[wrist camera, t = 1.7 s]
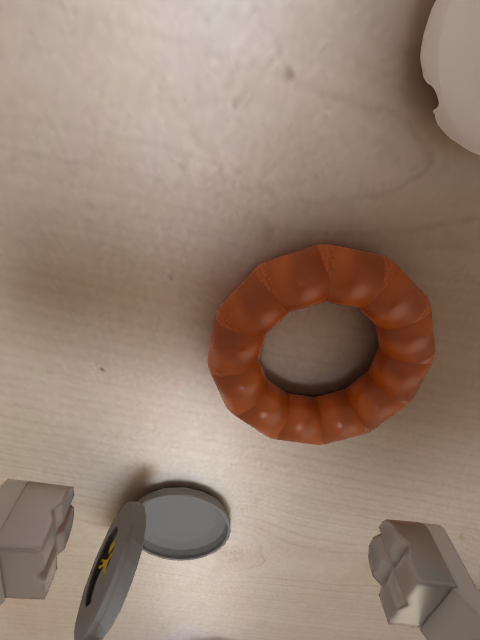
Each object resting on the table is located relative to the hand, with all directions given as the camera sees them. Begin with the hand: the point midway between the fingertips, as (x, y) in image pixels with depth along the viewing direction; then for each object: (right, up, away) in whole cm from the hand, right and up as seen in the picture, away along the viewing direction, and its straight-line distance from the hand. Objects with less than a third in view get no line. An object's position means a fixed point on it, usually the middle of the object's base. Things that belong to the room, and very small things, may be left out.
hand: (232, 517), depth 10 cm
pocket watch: (-5, -7, +15) cm, 17 cm away
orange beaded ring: (+4, +3, +8) cm, 10 cm away
